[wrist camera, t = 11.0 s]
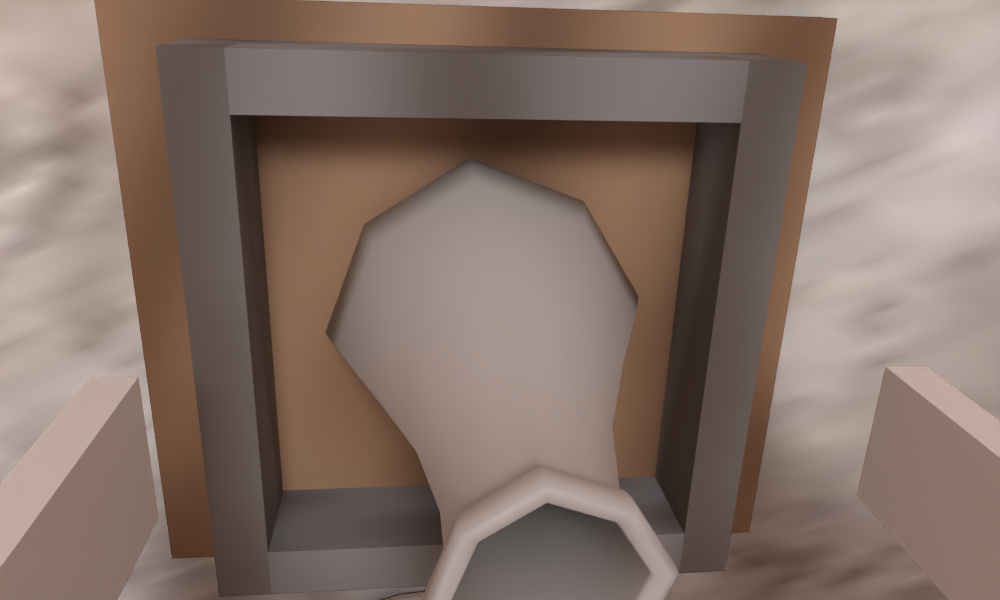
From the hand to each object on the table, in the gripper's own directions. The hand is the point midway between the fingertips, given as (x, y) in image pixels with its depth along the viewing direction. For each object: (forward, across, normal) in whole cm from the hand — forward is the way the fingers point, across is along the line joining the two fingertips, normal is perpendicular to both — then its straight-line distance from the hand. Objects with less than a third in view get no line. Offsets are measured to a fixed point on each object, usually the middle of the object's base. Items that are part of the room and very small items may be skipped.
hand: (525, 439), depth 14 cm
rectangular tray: (+7, 0, 0) cm, 7 cm away
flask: (+6, 0, 0) cm, 6 cm away
